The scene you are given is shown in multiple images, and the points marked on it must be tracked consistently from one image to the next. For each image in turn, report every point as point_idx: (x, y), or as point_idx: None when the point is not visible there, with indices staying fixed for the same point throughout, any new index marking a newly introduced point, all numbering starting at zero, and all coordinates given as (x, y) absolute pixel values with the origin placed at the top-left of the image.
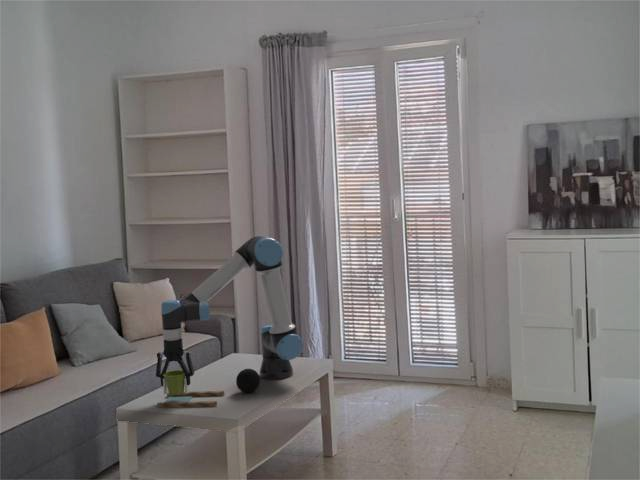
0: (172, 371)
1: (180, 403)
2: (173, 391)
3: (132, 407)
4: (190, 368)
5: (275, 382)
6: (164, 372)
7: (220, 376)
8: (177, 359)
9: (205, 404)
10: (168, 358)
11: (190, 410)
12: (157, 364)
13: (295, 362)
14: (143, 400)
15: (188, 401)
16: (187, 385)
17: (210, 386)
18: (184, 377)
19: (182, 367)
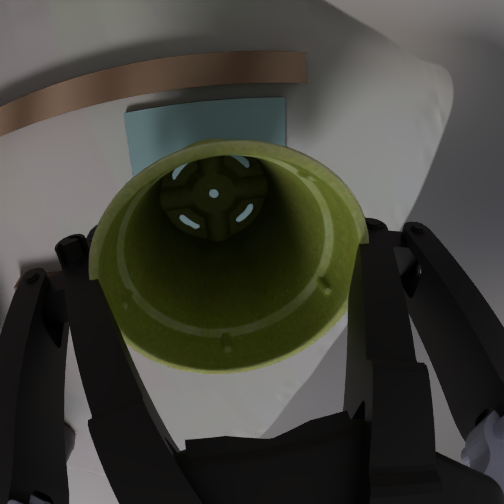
0: (290, 346)
1: (137, 63)
2: (214, 140)
3: (422, 91)
4: (9, 328)
5: None
6: (364, 257)
7: (175, 428)
8: (156, 476)
9: (2, 106)
10: (399, 455)
11: (63, 24)
12: (488, 310)
13: (68, 460)
14: (396, 194)
15: (133, 172)
16: None
17: (150, 372)
18: (117, 259)
19: (98, 340)
